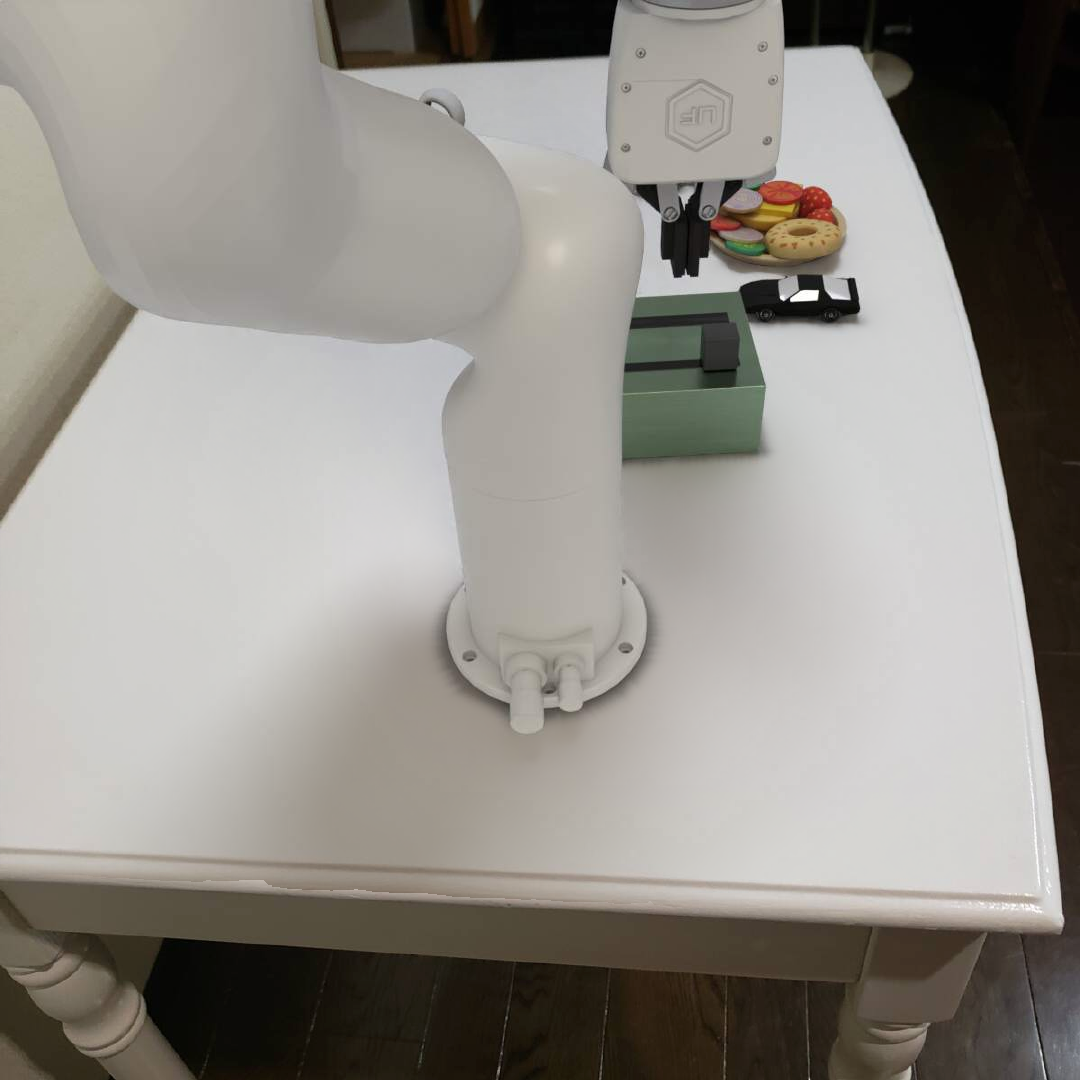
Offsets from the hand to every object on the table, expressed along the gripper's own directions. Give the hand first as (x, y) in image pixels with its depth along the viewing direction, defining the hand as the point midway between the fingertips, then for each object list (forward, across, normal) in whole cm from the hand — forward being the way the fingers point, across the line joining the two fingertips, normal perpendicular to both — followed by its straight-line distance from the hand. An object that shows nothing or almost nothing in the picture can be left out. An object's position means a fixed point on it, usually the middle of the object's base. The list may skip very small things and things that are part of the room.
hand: (683, 266), depth 74 cm
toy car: (+14, +12, +16) cm, 24 cm away
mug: (+14, -22, +42) cm, 49 cm away
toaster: (+14, 0, +4) cm, 15 cm away
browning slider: (+8, +3, +1) cm, 9 cm away
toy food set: (+14, +12, +28) cm, 33 cm away
